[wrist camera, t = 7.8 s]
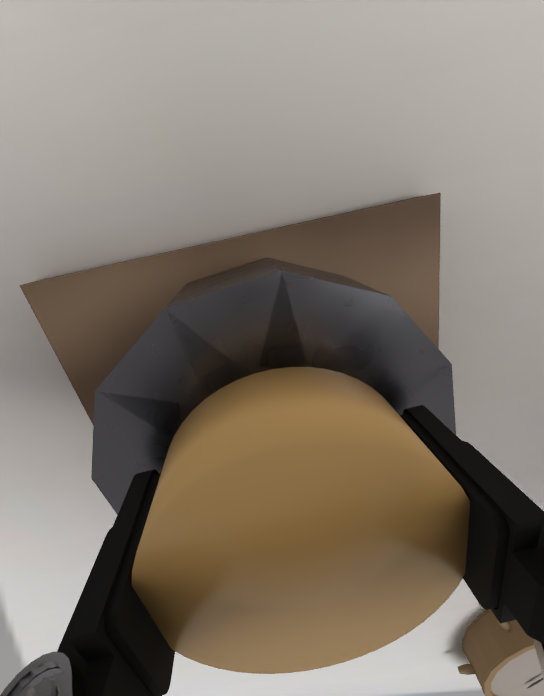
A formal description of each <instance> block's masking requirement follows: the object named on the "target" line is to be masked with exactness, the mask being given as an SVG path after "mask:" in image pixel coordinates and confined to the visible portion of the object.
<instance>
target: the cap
mask: <svg viewBox="0 0 544 696" xmlns="http://www.w3.org/2000/svg"><path fill="white" fill-rule="evenodd" d="M469 515H470V500H469V498H468V497H467V495H466V493H465V492H464V490H463V488H462V487H461V486H460V484H459V483H458V482H457V481H456V480H455V479H454V478H453V476H452V475H451V474H450V473H449V472H448V471H447V470H446V468H445V467H444V466H443V465H442V464H441V463H440V461H439V460H438V459H437V458H436V457H435V456H434V455H433V453H432V452H431V451H430V450H429V449H428V448H427V447H426V445H425V444H424V443H423V442H422V441H421V440H420V438H419V437H418V436H417V435H416V434H415V433H414V432H413V430H412V429H411V428H410V427H409V426H408V425H407V424H406V422H405V421H404V420H403V419H402V418H401V417H400V415H399V414H398V413H397V412H396V411H395V410H394V409H393V407H392V406H391V405H390V404H389V403H388V402H387V401H386V400H385V399H384V397H383V396H382V395H380V394H379V393H378V392H377V391H375V390H374V389H373V388H372V387H370V386H369V385H367V384H365V383H363V382H362V381H360V380H358V379H356V378H354V377H351V376H349V375H346V374H344V373H340V372H336V371H332V370H328V369H322V368H314V367H286V368H278V369H271V370H267V371H263V372H259V373H255V374H252V375H249V376H246V377H244V378H241V379H238V380H236V381H234V382H232V383H230V384H228V385H226V386H224V387H222V388H221V389H219V390H218V391H216V392H215V393H213V394H212V395H210V396H209V397H207V398H206V399H205V400H204V401H202V402H201V403H200V404H199V405H198V406H197V407H196V408H195V409H194V410H193V411H192V412H191V413H190V414H189V415H188V417H187V418H186V419H185V420H184V421H183V422H182V424H181V426H180V427H179V429H178V430H177V432H176V434H175V435H174V437H173V440H172V442H171V444H170V447H169V449H168V452H167V456H166V459H165V462H164V465H163V469H162V472H161V475H160V478H159V481H158V485H157V488H156V491H155V494H154V497H153V501H152V504H151V507H150V510H149V514H148V517H147V520H146V523H145V526H144V530H143V533H142V536H141V539H140V543H139V546H138V549H137V552H136V556H135V560H134V564H133V569H132V587H133V588H134V590H135V592H136V593H137V595H138V596H139V598H140V600H141V601H142V603H143V604H144V606H145V608H146V609H147V611H148V612H149V614H150V616H151V617H152V619H153V620H154V622H155V624H156V625H157V627H158V628H159V630H160V632H161V633H162V635H163V636H164V638H165V640H166V641H167V643H168V644H169V646H170V647H171V649H172V650H174V651H176V652H178V653H179V654H181V655H183V656H185V657H187V658H189V659H192V660H194V661H197V662H199V663H202V664H205V665H208V666H212V667H215V668H219V669H225V670H230V671H235V672H245V673H262V674H275V673H291V672H299V671H307V670H313V669H318V668H323V667H327V666H331V665H335V664H339V663H342V662H346V661H349V660H352V659H354V658H357V657H360V656H363V655H365V654H368V653H370V652H372V651H375V650H377V649H379V648H381V647H383V646H385V645H387V644H389V643H391V642H393V641H395V640H397V639H398V638H400V637H402V636H403V635H405V634H407V633H408V632H410V631H411V630H413V629H414V628H415V627H417V626H418V625H420V624H421V623H422V622H424V621H425V620H426V619H427V618H428V617H430V616H431V615H432V614H433V613H434V612H435V611H437V609H438V608H439V607H440V606H441V605H442V604H443V603H444V602H445V601H446V600H447V599H448V598H449V597H450V595H451V594H452V593H453V591H454V590H455V589H456V588H457V586H458V585H459V583H460V581H461V580H462V578H463V576H464V575H465V567H466V554H467V541H468V528H469Z"/></svg>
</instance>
